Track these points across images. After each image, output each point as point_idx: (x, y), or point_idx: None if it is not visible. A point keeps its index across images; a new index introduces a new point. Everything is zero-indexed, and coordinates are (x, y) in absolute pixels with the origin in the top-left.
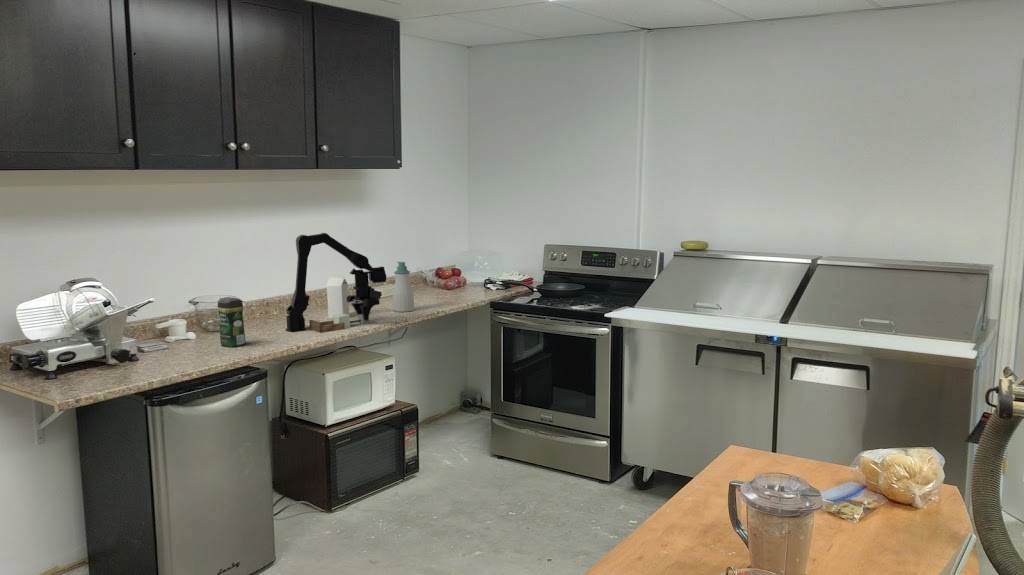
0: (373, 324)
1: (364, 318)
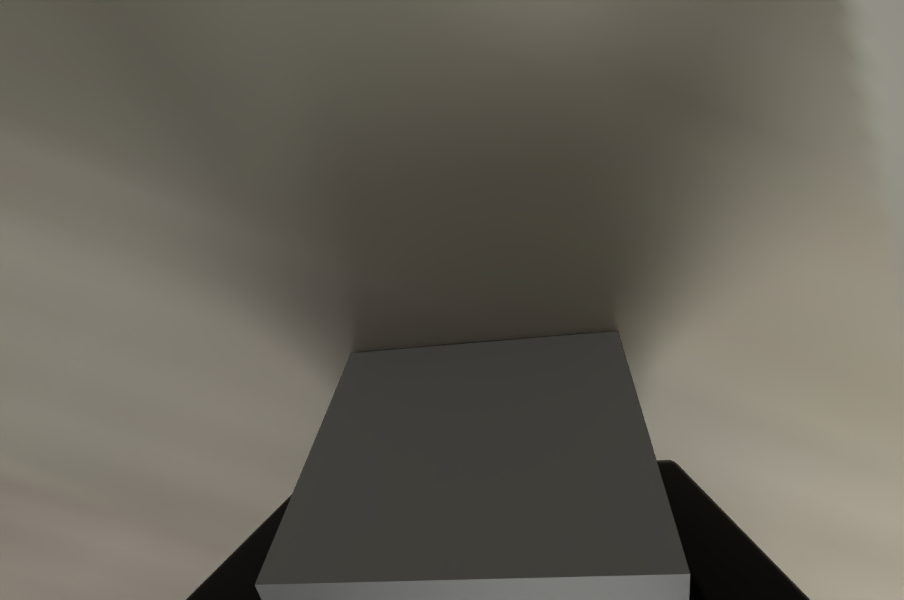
0: (818, 276)
1: None
